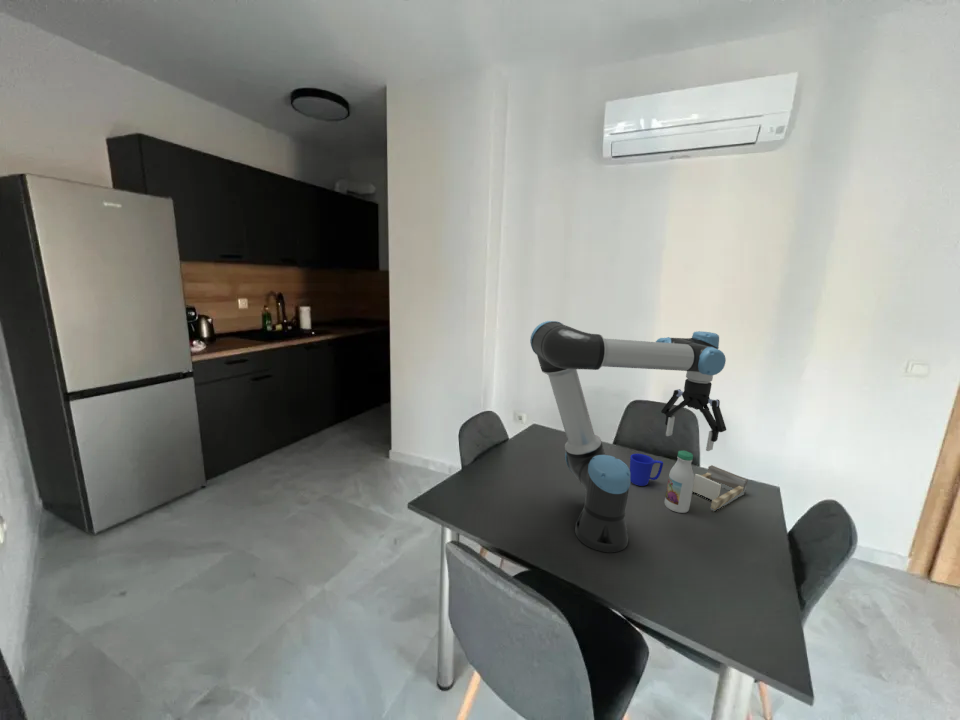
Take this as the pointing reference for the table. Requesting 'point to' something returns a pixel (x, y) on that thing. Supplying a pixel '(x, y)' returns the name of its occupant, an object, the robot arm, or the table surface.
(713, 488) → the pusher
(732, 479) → the lane
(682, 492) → the milk bottle
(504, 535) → the table surface
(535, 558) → the table surface
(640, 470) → the mug
